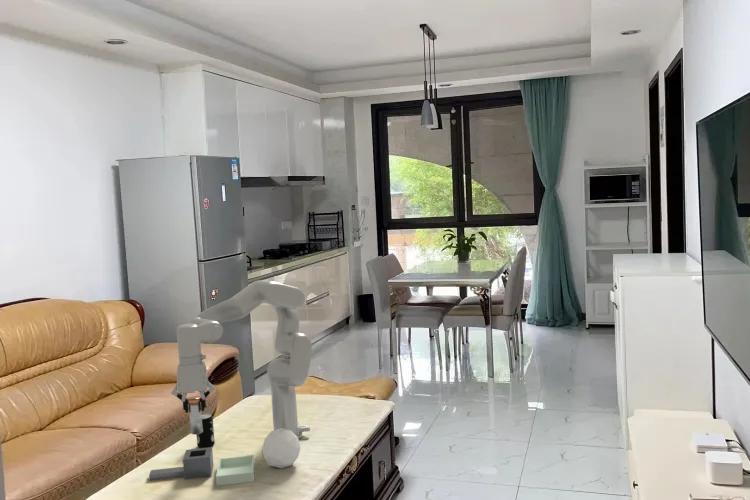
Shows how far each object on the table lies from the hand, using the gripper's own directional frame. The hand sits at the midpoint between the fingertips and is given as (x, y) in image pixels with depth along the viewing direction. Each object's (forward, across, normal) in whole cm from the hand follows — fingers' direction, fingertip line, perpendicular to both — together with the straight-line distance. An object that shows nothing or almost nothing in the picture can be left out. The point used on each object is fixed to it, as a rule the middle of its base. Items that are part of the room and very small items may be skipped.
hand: (195, 410), depth 230 cm
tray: (+22, -13, +5) cm, 26 cm away
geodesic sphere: (+23, -29, +2) cm, 37 cm away
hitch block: (+22, +6, 0) cm, 23 cm away
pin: (+8, 0, 0) cm, 8 cm away
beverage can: (+23, 0, -25) cm, 34 cm away
